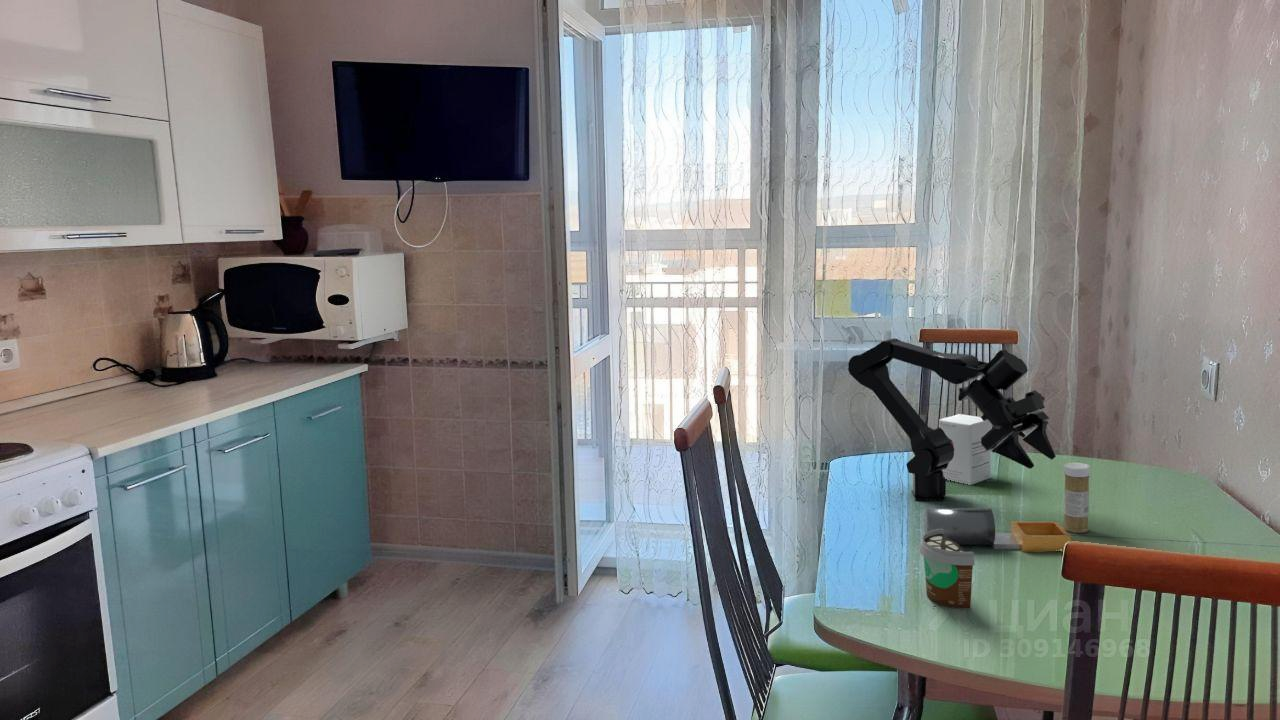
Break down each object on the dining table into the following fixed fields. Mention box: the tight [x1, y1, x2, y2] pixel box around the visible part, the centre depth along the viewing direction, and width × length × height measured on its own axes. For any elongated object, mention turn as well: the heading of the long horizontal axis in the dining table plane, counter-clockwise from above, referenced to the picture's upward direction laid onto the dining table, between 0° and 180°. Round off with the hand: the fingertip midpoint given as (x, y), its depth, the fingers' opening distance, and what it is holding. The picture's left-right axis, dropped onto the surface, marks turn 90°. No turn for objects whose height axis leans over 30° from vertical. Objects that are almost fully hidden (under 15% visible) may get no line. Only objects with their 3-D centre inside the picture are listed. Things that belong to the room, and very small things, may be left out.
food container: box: [918, 529, 975, 610], centre depth 145 cm, size 12×6×10 cm, turn 5°
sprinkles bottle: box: [1063, 462, 1091, 534], centre depth 173 cm, size 5×5×13 cm
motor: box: [923, 507, 1072, 553], centre depth 168 cm, size 25×9×7 cm, turn 81°
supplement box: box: [938, 413, 992, 486], centre depth 211 cm, size 9×9×15 cm
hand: (1043, 462), depth 177 cm, fingers open, 9 cm apart
